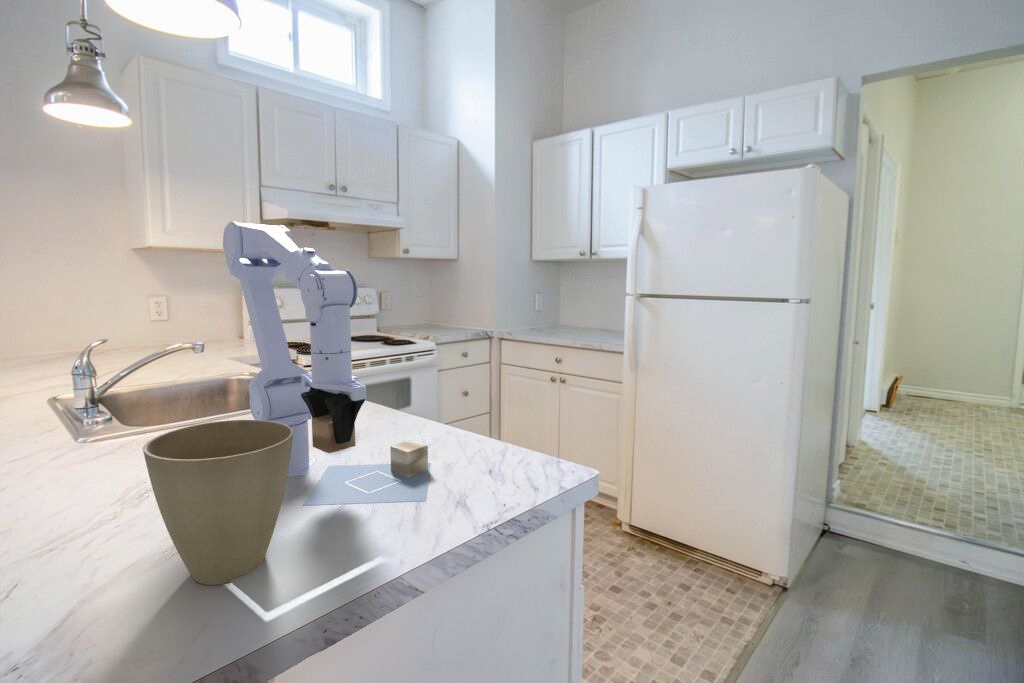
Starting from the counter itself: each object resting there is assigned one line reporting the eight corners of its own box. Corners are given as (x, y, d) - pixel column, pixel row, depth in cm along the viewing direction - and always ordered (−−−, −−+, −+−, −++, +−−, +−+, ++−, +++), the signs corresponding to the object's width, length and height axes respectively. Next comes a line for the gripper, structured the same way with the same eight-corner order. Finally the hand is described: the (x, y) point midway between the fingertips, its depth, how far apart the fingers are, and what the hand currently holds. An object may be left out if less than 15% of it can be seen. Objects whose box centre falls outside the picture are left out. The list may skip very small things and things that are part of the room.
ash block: (407, 477, 87) (407, 452, 86) (390, 471, 90) (390, 446, 89) (427, 470, 91) (427, 445, 90) (411, 464, 93) (410, 440, 93)
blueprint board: (302, 509, 76) (302, 504, 76) (328, 469, 92) (328, 465, 92) (425, 504, 78) (425, 500, 78) (430, 466, 94) (430, 462, 94)
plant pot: (180, 627, 51) (169, 471, 49) (136, 570, 60) (125, 437, 58) (321, 564, 62) (317, 435, 60) (265, 524, 72) (260, 412, 70)
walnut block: (328, 453, 76) (327, 423, 76) (312, 446, 79) (311, 418, 79) (355, 445, 80) (354, 417, 79) (338, 439, 83) (338, 412, 82)
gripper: (383, 353, 76) (384, 442, 78) (328, 344, 85) (331, 424, 87) (340, 358, 71) (343, 454, 73) (287, 348, 80) (291, 433, 82)
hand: (334, 438), depth 79 cm, fingers closed on walnut block, 4 cm apart
